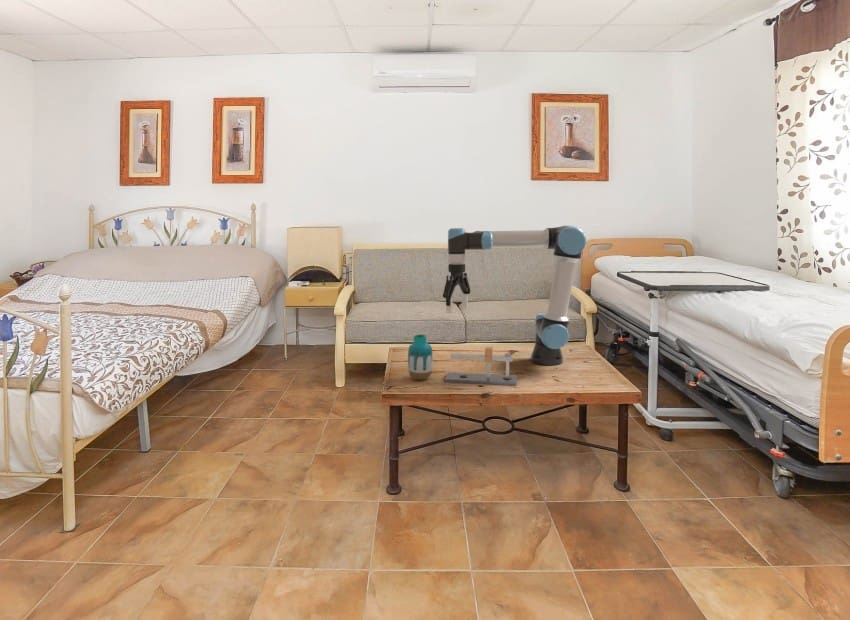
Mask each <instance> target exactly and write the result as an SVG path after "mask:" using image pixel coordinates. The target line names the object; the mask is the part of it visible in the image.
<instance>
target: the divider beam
mask: <svg viewBox="0 0 850 620" xmlns="http://www.w3.org/2000/svg"><path fill="white" fill-rule="evenodd" d="M513 357H514V355H512V353H507V352H506V353H504V355H503V354H493V355H492V362H505V375H506V379H509V375H510V362H512V363H513V361H514V359H513ZM450 360H466V361H485V354H476V353H475V354H474V353H454V352H452V353H450Z"/></svg>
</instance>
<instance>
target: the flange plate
mask: <svg viewBox="0 0 850 620" xmlns="http://www.w3.org/2000/svg"><path fill="white" fill-rule="evenodd" d="M444 383H456V384H457V383H458V384H459V383H461V384H462V383H463V384H478V385H479V384H480V385H496V386H497V385H500V386H501V385H502V386H517V385H518V375H514V374H509V379H506V374H491V373H490V377H487V373H472V372H471V373H469V372H467V373H466V372H453V371H452V372H451V371H449V372H447V374H446V375H445V378H444Z"/></svg>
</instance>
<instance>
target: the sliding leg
mask: <svg viewBox="0 0 850 620" xmlns="http://www.w3.org/2000/svg"><path fill="white" fill-rule="evenodd" d="M484 355H485V360H484V362H486V374H487V377H490V374H491V363H492V362H493V361H492V355H494V354H493V346H485V347H484Z"/></svg>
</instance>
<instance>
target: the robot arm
mask: <svg viewBox="0 0 850 620" xmlns="http://www.w3.org/2000/svg"><path fill="white" fill-rule="evenodd" d="M447 231H448V232H447V251H448V252H447V253H448V256H447V258H448V265H447V266H448V271H447V272H448V273H450V275H446V280H445V284H444V289H443V293H442V298H443V299H445V306H446V307H445V309H446V310H445V313H447V314H453V298H452V296H453V295H454V291H455V289H456V287H457V285H458V286H459V288H460V290H461V292H462V293H461V308H462V309H468V308H469V306H468V305H469V304H468V303H469V299H468V298H469V295H470V294H471V286H470V283H469V279H468V273H467V272H466V264H465V263H466V251H467V250H470V251H471V250H473V251H474V250H475V251H476V250H482V251H483V250H484V251H487V250H491V249H492V248H544V249H545V250H554V251H553V257H554V258H555V266H554V272H553V278H552V281H551V282H552V284H551V288H550V295H549V301H548V307H547V312H546V313H539V314H536V315H535V320H534V321H535V330H534V331H535V334H534V335H535V337H534V347H533V350H532V352H531V355H530V362H532V363H534V364H538V365H543V366H557V365H561V364H563V363H564V355H563V353H562V348H563V347H565V346H566V344H568V342H569V340H570V333H569V326H570V318H569V317H568V310H569V305H570V299H571V293H572V289H573V284H574V279H575V278H574V277H575V271H576V265H577V263H578V262H579V261H581V259H582V253H583V251H584V249H585V248H586V245H587V235H586V234H585V232H584V231H583V230H582V229H581V228H579V227H577V226H575V225H562V226H557V227H546V228H545V229H543V230H542V229H541V230H539V229H538V230H531V229H529V230H489V231H488V230H486V231H485V230H483V231H482V230H476V231H473V232H466V229H465V228H464V227H455V228H454V227H451V228H449V229H448V230H447Z"/></svg>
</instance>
